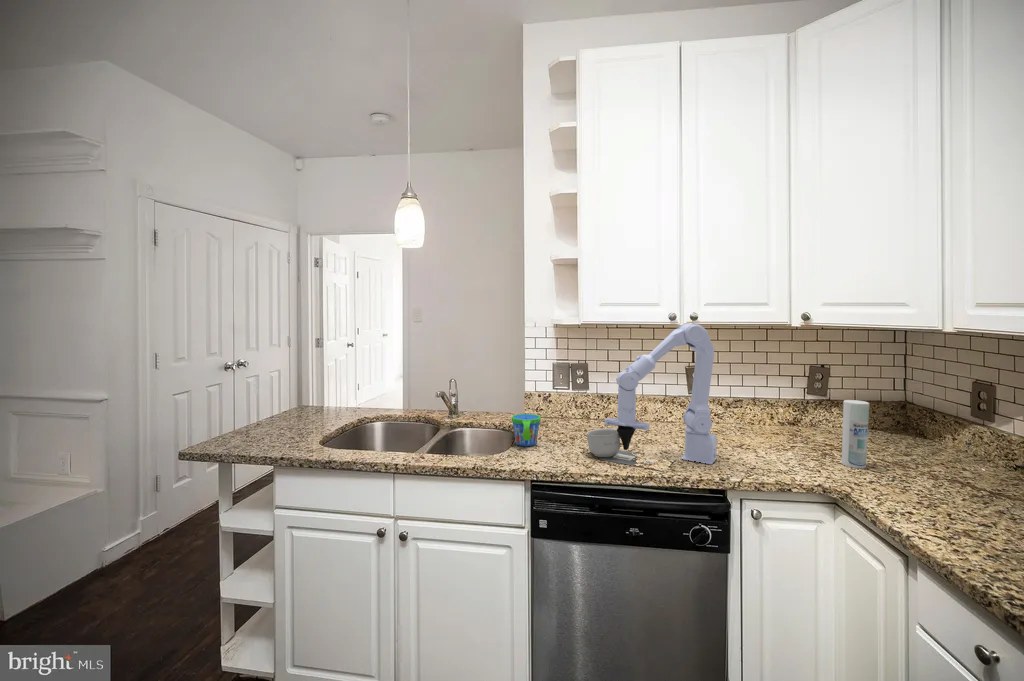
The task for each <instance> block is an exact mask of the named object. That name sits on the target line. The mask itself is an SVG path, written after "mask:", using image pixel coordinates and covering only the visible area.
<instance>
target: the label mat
mask: <svg viewBox="0 0 1024 681" xmlns="http://www.w3.org/2000/svg"><path fill="white" fill-rule="evenodd" d="M632 453H633V454H636V452H630V451H627V450H621V449H619V451H618V452H617V453H616V454H615V455H614V456H611V457H599V459H598V460H600V461H606V462H610V463H611V462H612V463H615V464H620V465H625V464H626V465H627V466H631V465H634V464H636V463H637V462H636V460H637V459H636V458H637V456H635V455H633V454H632ZM634 457H635V458H634ZM633 459H635V460H633ZM647 460H648V461H651V459H646V460H645V461H644V463H651V462H652V464H654V463H653V461H654V460H652V461H651V462H646V461H647ZM633 461H634V463H633ZM626 465H625V466H626Z"/></svg>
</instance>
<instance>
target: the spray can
mask: <svg viewBox="0 0 1024 681" xmlns="http://www.w3.org/2000/svg"><path fill="white" fill-rule="evenodd" d="M869 416H870V403H869V402H867V401H864V400H856V399H845V400H843V404H842V435H841V436H842V437H841V465H842V464H843V465H842V466H844V465H845V467H847V466H848V468H851V467H853V468H852V469H860V468H862V469H866V468H867V457H868V456H867V454H868V437H869V435H868V434H869V420H870V419H869Z"/></svg>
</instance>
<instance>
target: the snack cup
mask: <svg viewBox="0 0 1024 681" xmlns="http://www.w3.org/2000/svg"><path fill="white" fill-rule="evenodd" d="M541 420H542V417H541V416H540V415H538V414H534V413H533V414H532V413H520V414H518V413H517V414H514V415H512V416H511V422H512V426H513V427H512V428H513V433H514V439H515V443H516V445H517V446H520V447H532V446H536V445H537V442H538V436H539V429H540V424H541V422H542V421H541Z"/></svg>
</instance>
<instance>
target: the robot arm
mask: <svg viewBox="0 0 1024 681" xmlns="http://www.w3.org/2000/svg"><path fill="white" fill-rule="evenodd" d="M684 345H685V346H686V345H687V346H689V347H690V348H691V349H692V351H693V352H695V354H696V355H695V363H694V370H693V371H694V372H693V379H692V387H691V395H690V401H689V403H688V404H687V407H686V408H687V409H686V411H685V412H684V414H683V418H682V420H683V423H684V425H685V426H686V427H685V430H684V434H685V435H684V454H683V455H682V456H681V457H680V460H682V459H683V461H688V460H689V461H688V462H694V461H696V462H695V463H699V462H701V464H705V463H706V464H707V465H713V464H714V462H716V460H717V459H718V457H717V452H718V451H717V445H718V444H717V442H718V440H717V438H718V437H717V435H716V434H714V433H710V431H711V429H712V427H713V421H712V417H711V413H712V412H711V409H710V406H709V398H710V391H711V390H710V389H711V381H712V373H713V372H712V371H713V364H714V356H715V347H714V344H713V343H712V340H711V338H710V336H709V331H708V330H706V328H704V326H702V325H700V324H699V323H682V324H680V325H679V326H678V328H675V329H673V331H672V332H670V334H668V335H667V336H666V337H665V338H664V339H663V340H662V341H661V342H660V343H659V344H658V345H657V346H656V347H655V348H654V349H653V350H652V351H650V352H649V354H642V355H638V356H636V358H635V361H633V362H632V364H629V366H626V367H625V370H623V371H620V372H619V373H618V375H617V378H616V380H615V381H616V384H617V385H618V387H617V388H618V389H617V392H618V393H617V418H611V417H610V418H609V417H608V418H607V417H606V418H604V425H605V426H614V427H617V428H616V430H617V432H618V433H619V436H620V442H621V443H622V448H623V451H627V450H629V448H630V444H631V441H632V438H633V435H634V434H635V432H636V430H643V431H649V430H650V423H647V422H641V421H638V420H636V416H637V415H636V413H637V409H636V407H637V406H636V405H637V404H636V403H637V395H636V390H637V389H636V388H637V387H638V385H639V382H640V381H642V380H643V379H644V378H645V377H647V376H648V374H650V373H651V372H652V371H653V370H655V369H656V363H657V362H658V361H659V360H661V359H662V358H663V357H664V356H665V355H666V354H668V353H669V352H670V351H671V350H673V349H674V348H675V347H678V346H684Z"/></svg>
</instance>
